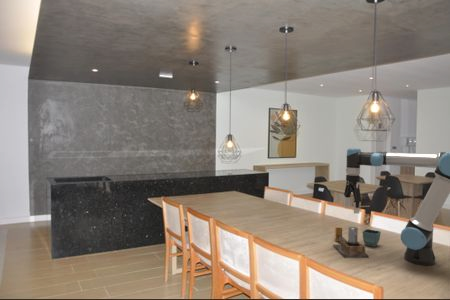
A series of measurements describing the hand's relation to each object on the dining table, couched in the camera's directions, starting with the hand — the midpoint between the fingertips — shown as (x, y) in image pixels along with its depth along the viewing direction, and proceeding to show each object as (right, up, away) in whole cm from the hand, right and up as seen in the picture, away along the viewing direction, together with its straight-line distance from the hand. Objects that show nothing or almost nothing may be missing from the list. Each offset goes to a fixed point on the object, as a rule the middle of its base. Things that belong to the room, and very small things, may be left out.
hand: (351, 210), depth 199 cm
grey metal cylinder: (0, -24, -2) cm, 24 cm away
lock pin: (0, -24, +13) cm, 27 cm away
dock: (0, -25, +2) cm, 25 cm away
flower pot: (+18, -25, +14) cm, 33 cm away
